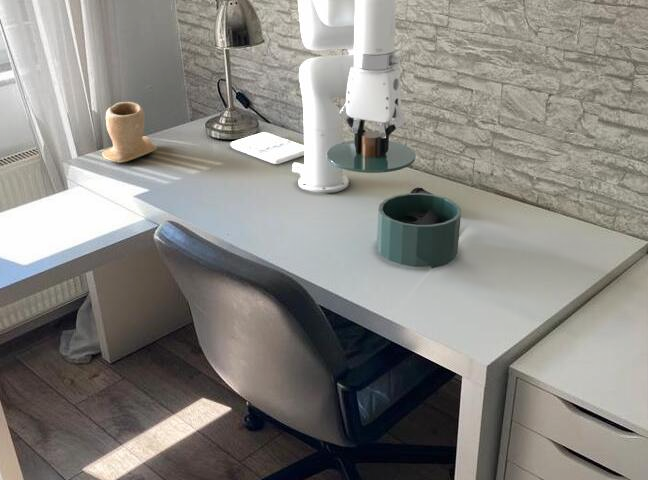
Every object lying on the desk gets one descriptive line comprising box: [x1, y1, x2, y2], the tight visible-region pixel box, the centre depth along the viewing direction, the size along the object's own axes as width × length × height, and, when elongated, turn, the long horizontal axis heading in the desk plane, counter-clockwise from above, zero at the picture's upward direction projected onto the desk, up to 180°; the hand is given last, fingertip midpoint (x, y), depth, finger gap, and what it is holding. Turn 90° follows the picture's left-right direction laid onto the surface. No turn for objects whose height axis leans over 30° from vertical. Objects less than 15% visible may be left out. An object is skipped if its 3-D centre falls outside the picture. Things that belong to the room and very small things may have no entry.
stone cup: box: [101, 101, 157, 163], centre depth 215 cm, size 15×12×15 cm
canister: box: [376, 192, 462, 269], centre depth 166 cm, size 17×17×10 cm
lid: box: [327, 130, 417, 174], centre depth 158 cm, size 18×18×5 cm
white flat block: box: [230, 131, 304, 165], centre depth 222 cm, size 13×20×2 cm, turn 44°
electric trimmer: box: [409, 187, 434, 195], centre depth 187 cm, size 4×16×3 cm, turn 35°
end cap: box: [401, 210, 442, 225], centre depth 167 cm, size 10×7×7 cm
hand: (371, 152), depth 159 cm, fingers closed on lid, 4 cm apart
